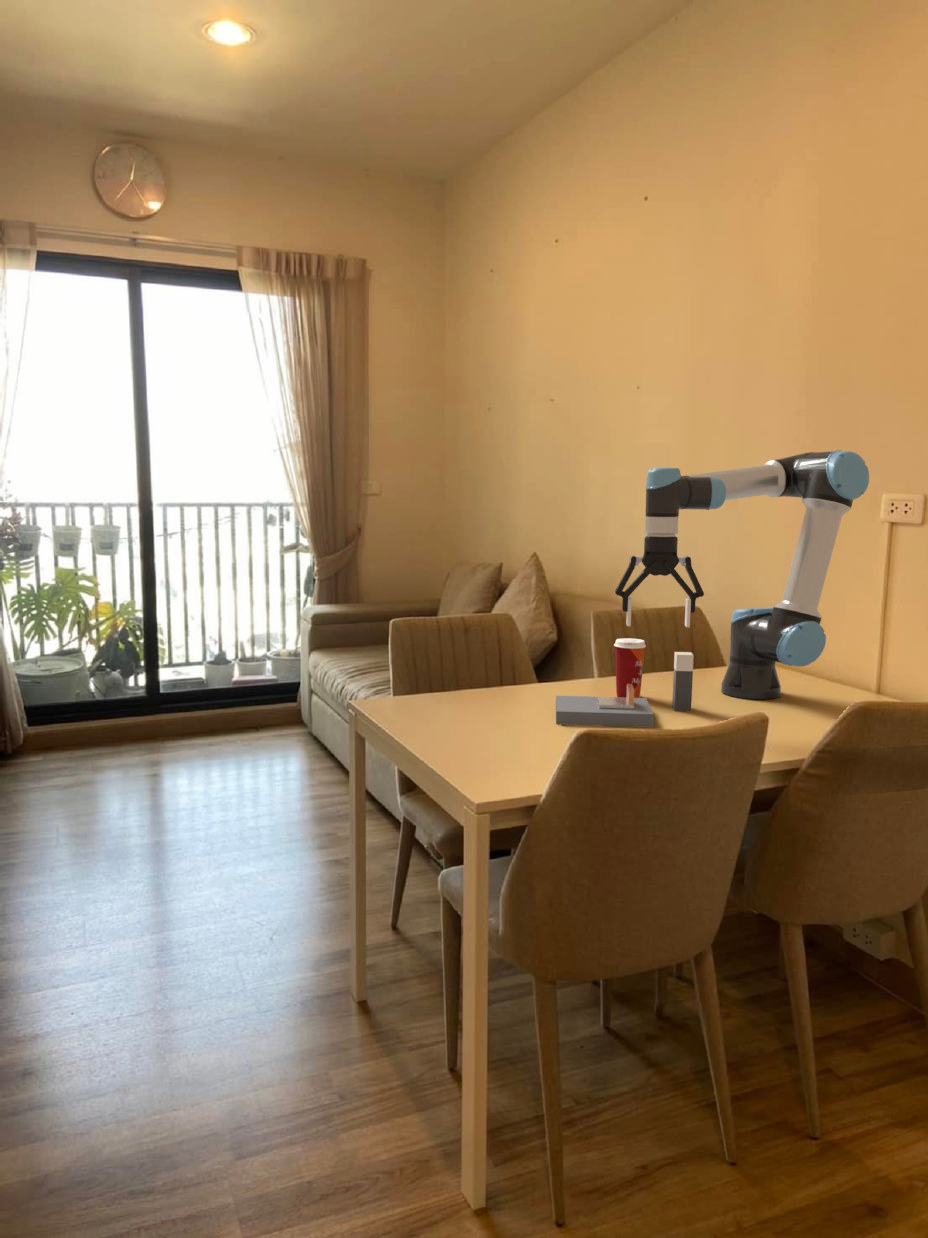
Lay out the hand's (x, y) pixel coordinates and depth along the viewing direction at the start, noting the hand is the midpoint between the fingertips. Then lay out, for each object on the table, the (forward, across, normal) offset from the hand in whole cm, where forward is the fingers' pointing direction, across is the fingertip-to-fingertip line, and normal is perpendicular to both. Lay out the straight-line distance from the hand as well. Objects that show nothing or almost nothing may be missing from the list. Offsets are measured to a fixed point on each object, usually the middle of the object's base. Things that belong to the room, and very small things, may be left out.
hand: (657, 626), depth 209 cm
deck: (+22, +12, +1) cm, 25 cm away
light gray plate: (+19, +9, +1) cm, 21 cm away
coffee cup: (+22, +4, -21) cm, 31 cm away
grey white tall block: (+22, -8, -9) cm, 25 cm away
